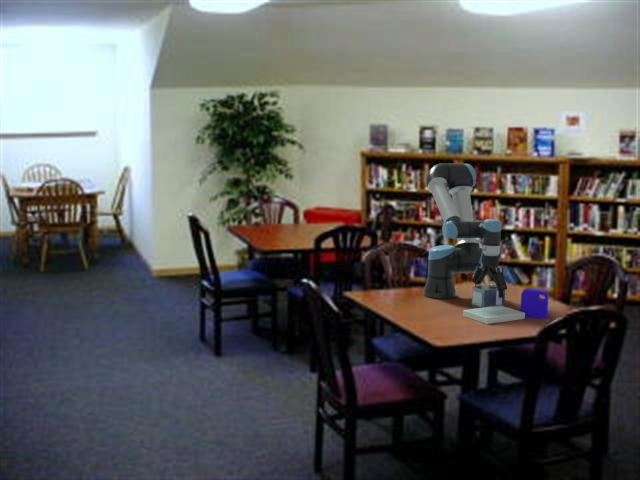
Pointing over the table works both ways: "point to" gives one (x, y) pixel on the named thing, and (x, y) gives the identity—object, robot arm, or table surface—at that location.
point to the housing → (485, 296)
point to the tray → (493, 314)
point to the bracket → (534, 303)
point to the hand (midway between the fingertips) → (488, 301)
